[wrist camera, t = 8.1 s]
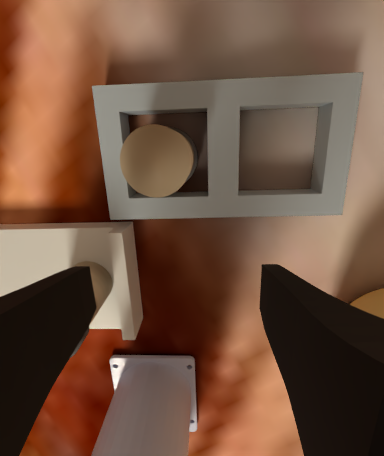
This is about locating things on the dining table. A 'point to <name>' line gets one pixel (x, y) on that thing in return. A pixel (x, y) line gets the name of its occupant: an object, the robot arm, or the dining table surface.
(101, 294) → the plain peg
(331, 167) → the pin block
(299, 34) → the dining table surface
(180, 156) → the banded peg
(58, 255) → the flanged base plate
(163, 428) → the robot arm
